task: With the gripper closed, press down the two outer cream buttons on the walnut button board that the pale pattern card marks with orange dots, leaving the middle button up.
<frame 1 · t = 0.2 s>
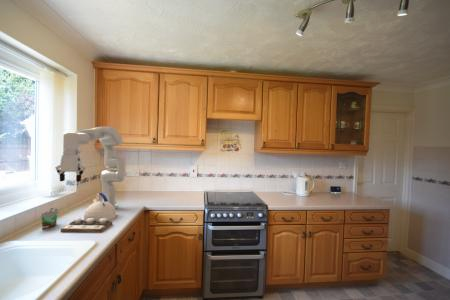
hand: (70, 181, 130), 30 cm above the worktop, tool pointing down, fingers open, 9 cm apart
button 1: (77, 219, 137), point 4 cm above the worktop, slide at 0.0 cm
kettle: (100, 218, 154), on the worktop
pattern card: (83, 230, 131), resting on button board
button board: (87, 228, 135), on the worktop
button middle: (90, 220, 137), point 4 cm above the worktop, slide at 0.0 cm
food container: (52, 226, 137), on the worktop
button 2: (102, 220, 138), point 4 cm above the worktop, slide at 0.0 cm
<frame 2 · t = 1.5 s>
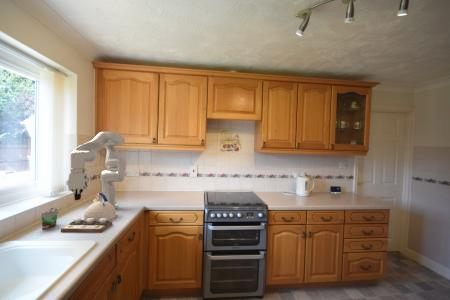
hand: (77, 199, 137), 17 cm above the worktop, tool pointing down, fingers closed
nothing on the worktop moved.
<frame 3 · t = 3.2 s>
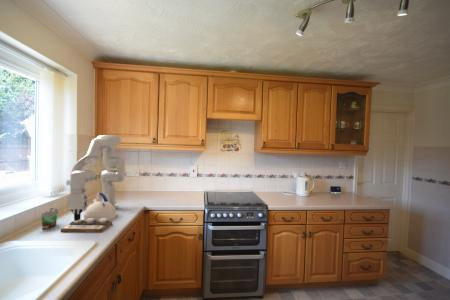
hand: (77, 219, 137), 4 cm above the worktop, tool pointing down, fingers closed
button 1: (77, 220, 137), point 3 cm above the worktop, slide at 0.6 cm, touching gripper
everything else where it was.
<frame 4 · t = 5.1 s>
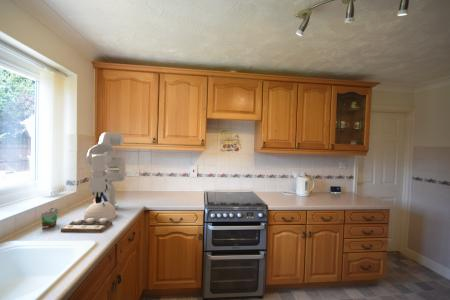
hand: (98, 202, 137), 15 cm above the worktop, tool pointing down, fingers closed
button 1: (77, 221, 137), point 3 cm above the worktop, slide at 0.9 cm
everything else where it was.
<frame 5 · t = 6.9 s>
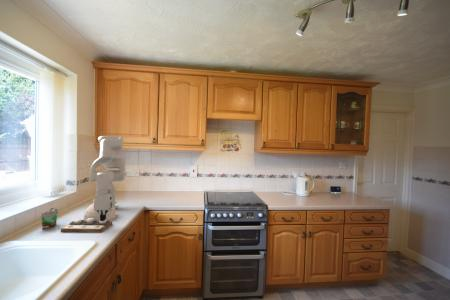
hand: (102, 220, 137), 4 cm above the worktop, tool pointing down, fingers closed
button 2: (102, 221, 138), point 3 cm above the worktop, slide at 0.8 cm, touching gripper
everything else where it was.
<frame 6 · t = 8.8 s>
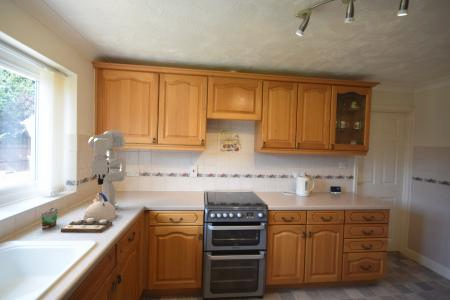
hand: (100, 184, 145), 26 cm above the worktop, tool pointing down, fingers closed
button 2: (102, 221, 138), point 3 cm above the worktop, slide at 0.9 cm
everything else where it was.
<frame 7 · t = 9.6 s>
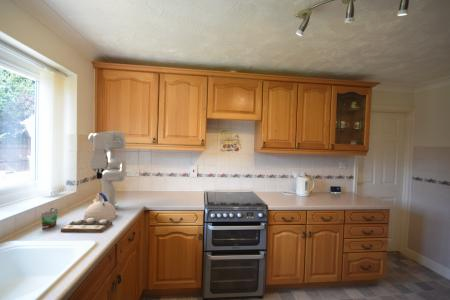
hand: (99, 178, 147), 29 cm above the worktop, tool pointing down, fingers closed
nothing on the worktop moved.
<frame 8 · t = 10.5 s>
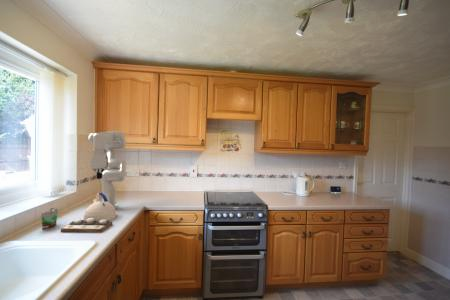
hand: (99, 178, 147), 29 cm above the worktop, tool pointing down, fingers closed
nothing on the worktop moved.
at the end: button 1 slide at 0.9 cm; button 2 slide at 0.9 cm; button middle slide at 0.0 cm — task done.
